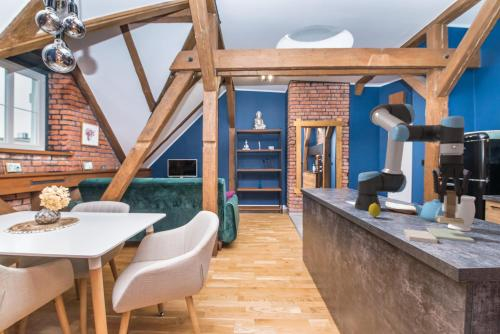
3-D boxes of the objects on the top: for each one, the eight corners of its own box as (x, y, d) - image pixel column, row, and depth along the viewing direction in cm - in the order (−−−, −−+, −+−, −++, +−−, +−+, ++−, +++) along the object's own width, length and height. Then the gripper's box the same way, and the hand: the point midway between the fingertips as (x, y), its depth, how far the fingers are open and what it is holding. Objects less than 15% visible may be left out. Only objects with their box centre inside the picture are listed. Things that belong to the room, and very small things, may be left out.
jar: (480, 233, 108) (481, 198, 107) (452, 231, 110) (454, 197, 109) (464, 226, 118) (465, 194, 117) (439, 225, 120) (440, 194, 120)
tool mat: (426, 229, 113) (426, 227, 113) (459, 232, 108) (459, 230, 108) (436, 238, 100) (436, 236, 100) (474, 242, 95) (474, 240, 95)
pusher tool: (435, 220, 107) (436, 189, 107) (458, 222, 104) (459, 190, 104) (439, 222, 103) (440, 191, 102) (463, 224, 100) (464, 192, 99)
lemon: (370, 218, 132) (371, 203, 131) (367, 216, 137) (367, 201, 137) (381, 219, 131) (382, 204, 131) (377, 216, 136) (378, 202, 136)
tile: (404, 229, 107) (409, 236, 97) (429, 231, 104) (437, 239, 94) (403, 233, 107) (409, 241, 97) (429, 236, 104) (437, 244, 94)
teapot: (440, 225, 121) (441, 202, 120) (411, 217, 135) (411, 198, 134) (461, 222, 126) (462, 201, 125) (430, 216, 140) (431, 196, 140)
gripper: (430, 154, 102) (428, 211, 103) (480, 154, 96) (478, 215, 97) (425, 154, 109) (424, 208, 110) (472, 154, 103) (470, 211, 104)
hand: (449, 211), depth 103 cm, fingers closed on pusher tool, 3 cm apart
